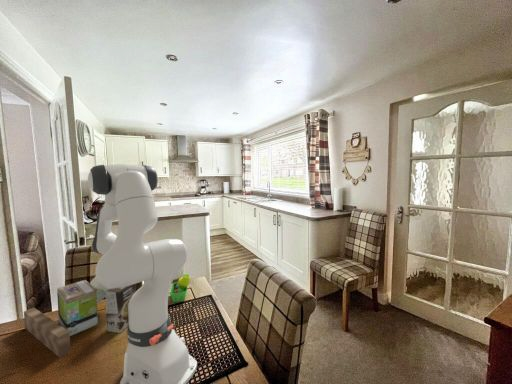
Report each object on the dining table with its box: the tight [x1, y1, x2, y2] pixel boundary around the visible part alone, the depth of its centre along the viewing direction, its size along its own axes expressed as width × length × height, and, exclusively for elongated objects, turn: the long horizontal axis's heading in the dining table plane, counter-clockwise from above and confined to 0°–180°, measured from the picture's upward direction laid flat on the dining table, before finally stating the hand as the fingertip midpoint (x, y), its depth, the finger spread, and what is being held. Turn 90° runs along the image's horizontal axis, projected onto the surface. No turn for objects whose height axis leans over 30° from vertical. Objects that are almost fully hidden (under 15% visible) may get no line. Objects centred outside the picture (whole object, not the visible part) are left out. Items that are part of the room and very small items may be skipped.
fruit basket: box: [169, 273, 191, 303], centre depth 108 cm, size 11×9×11 cm
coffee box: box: [105, 283, 137, 334], centre depth 88 cm, size 9×6×16 cm
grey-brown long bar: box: [23, 307, 71, 358], centre depth 80 cm, size 30×3×7 cm, turn 62°
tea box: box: [56, 279, 99, 337], centre depth 89 cm, size 15×10×15 cm, turn 52°
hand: (95, 302), depth 94 cm, fingers closed
